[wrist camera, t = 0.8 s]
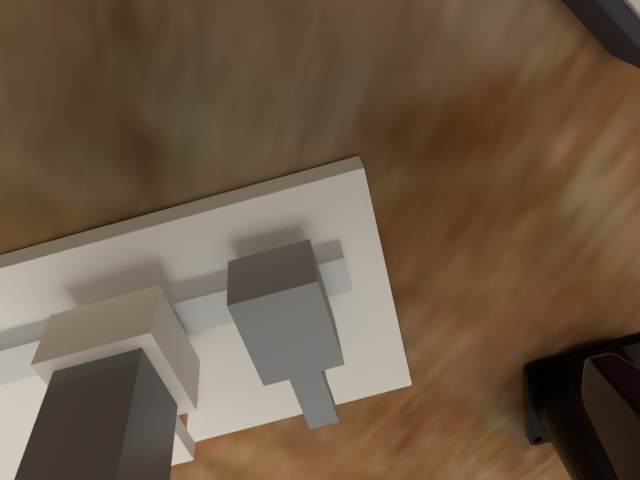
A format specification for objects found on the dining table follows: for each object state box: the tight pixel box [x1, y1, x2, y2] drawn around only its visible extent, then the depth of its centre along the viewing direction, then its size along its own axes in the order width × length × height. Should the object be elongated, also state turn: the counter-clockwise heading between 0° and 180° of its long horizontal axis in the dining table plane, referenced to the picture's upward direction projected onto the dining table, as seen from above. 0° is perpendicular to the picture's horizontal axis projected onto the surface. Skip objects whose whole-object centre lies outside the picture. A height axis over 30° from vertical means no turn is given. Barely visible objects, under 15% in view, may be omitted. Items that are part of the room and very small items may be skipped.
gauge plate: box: [0, 156, 412, 480], centre depth 22 cm, size 12×24×5 cm, turn 104°
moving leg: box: [14, 285, 200, 480], centre depth 19 cm, size 7×4×8 cm, turn 13°
